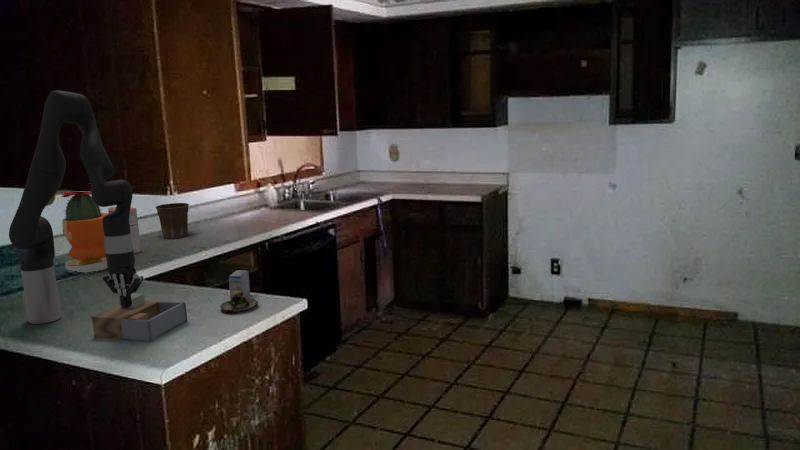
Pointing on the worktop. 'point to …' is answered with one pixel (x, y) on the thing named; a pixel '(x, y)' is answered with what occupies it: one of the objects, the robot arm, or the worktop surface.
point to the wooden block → (120, 318)
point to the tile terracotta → (139, 316)
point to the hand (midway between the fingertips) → (126, 307)
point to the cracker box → (132, 228)
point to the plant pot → (173, 219)
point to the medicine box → (239, 282)
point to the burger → (238, 303)
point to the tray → (155, 322)
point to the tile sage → (136, 300)
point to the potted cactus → (84, 233)
